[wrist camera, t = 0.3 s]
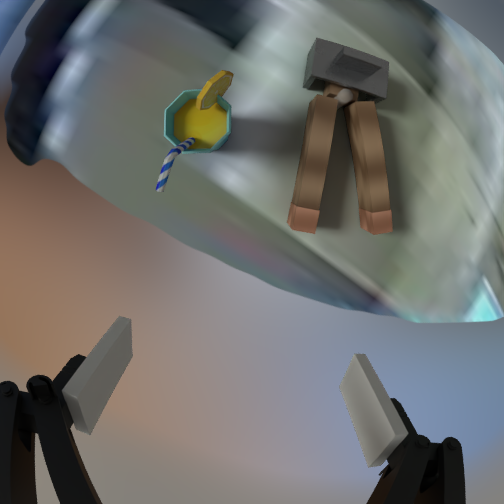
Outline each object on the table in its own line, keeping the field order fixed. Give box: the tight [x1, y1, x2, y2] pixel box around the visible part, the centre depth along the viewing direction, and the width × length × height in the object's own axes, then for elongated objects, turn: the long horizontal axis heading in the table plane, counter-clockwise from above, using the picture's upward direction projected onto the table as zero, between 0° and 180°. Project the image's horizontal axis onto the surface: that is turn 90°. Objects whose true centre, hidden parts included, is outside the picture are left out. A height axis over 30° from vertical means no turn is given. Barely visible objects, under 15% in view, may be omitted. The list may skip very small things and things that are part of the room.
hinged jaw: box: [344, 101, 393, 235], centre depth 35 cm, size 18×3×5 cm, turn 10°
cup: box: [156, 70, 234, 192], centre depth 30 cm, size 14×8×15 cm, turn 157°
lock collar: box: [303, 38, 389, 104], centre depth 29 cm, size 6×10×10 cm, turn 80°
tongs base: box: [287, 81, 359, 234], centre depth 35 cm, size 24×6×5 cm, turn 170°
